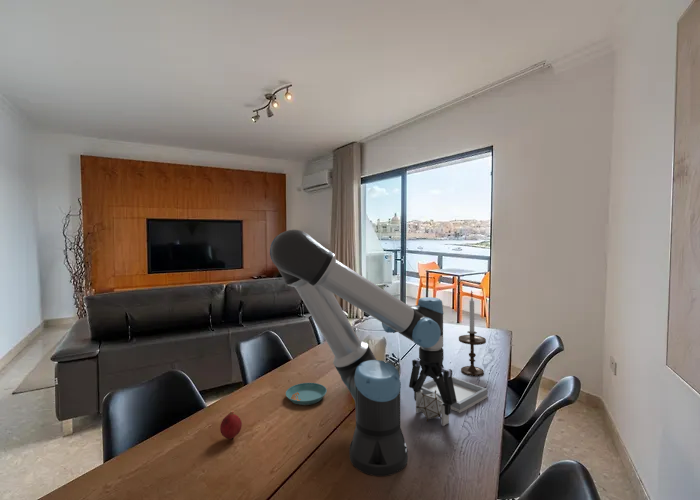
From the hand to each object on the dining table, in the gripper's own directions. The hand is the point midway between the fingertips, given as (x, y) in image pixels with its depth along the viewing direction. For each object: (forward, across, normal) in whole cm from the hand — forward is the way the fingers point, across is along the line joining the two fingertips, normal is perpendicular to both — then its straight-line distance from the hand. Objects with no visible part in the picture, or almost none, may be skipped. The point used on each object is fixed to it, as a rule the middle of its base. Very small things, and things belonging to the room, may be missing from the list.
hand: (431, 417), depth 106 cm
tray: (0, +5, -18) cm, 19 cm away
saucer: (+1, +38, +23) cm, 45 cm away
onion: (0, +30, +53) cm, 61 cm away
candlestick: (+1, +12, -43) cm, 45 cm away
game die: (0, 0, 0) cm, 0 cm away
